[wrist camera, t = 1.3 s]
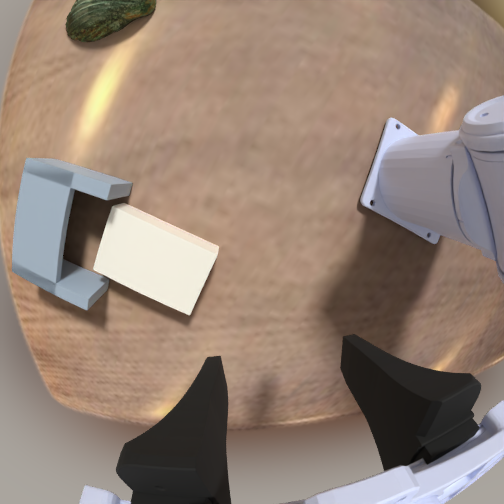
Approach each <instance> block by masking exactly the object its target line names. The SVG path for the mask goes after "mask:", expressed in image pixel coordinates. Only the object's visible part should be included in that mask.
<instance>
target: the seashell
mask: <svg viewBox="0 0 504 504" xmlns="http://www.w3.org/2000/svg"><path fill="white" fill-rule="evenodd" d="M155 7H156V0H76V2H75V4H74V5H73V7H72V9H71V12H70V13H69V15H68V16H67V22H66V27H67V32H68V36H71V39H73V40H79V41H81V42H92V41H96V40H99V39H101V38H103V37H105V36H107V35H109V34H111V33H113V32H116V31H119V30H121V29H123V28H124V27H125V26H126V25H127V24H128V23H130V22H131V21H133V20H135V19H136V18H139V17H142V16H147V15H149V14H150V13H152V12H153V11H154V10H155Z"/></svg>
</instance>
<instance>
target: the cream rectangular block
mask: <svg viewBox="0 0 504 504" xmlns="http://www.w3.org/2000/svg"><path fill="white" fill-rule="evenodd" d="M218 250H219V246H217V245H215V244H212V243H210V242H208V241H206V240H204V239H201V238H199V237H197V236H195V235H193V234H191V233H188V232H186V231H184V230H182V229H180V228H178V227H175V226H173V225H171V224H169V223H167V222H165V221H162V220H160V219H158V218H156V217H154V216H152V215H149V214H147V213H145V212H143V211H141V210H139V209H136V208H134V207H132V206H130V205H128V204H126V203H122V204H118V205H114V206H112V209H111V212H110V215H109V218H108V221H107V224H106V227H105V230H104V233H103V236H102V240H101V243H100V246H99V250H98V253H97V257H96V261H95V264H94V268H93V270H95V271H97V272H99V273H101V274H103V275H105V276H107V277H109V278H111V279H113V280H115V281H117V282H119V283H120V284H123V285H125V286H127V287H129V288H131V289H133V290H135V291H137V292H139V293H141V294H143V295H145V296H147V297H149V298H152V299H154V300H156V301H158V302H160V303H163V304H165V305H167V306H169V307H171V308H174V309H176V310H178V311H181V312H183V313H185V314H188V315H190V314H191V312H192V309H193V307H194V305H195V303H196V301H197V298H198V296H199V294H200V292H201V290H202V287H203V285H204V283H205V281H206V279H207V277H208V275H209V272H210V270H211V268H212V266H213V264H214V262H215V260H216V257H217V255H218Z"/></svg>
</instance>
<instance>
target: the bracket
mask: <svg viewBox="0 0 504 504" xmlns="http://www.w3.org/2000/svg"><path fill="white" fill-rule="evenodd" d="M132 184H133V183H131V182H128V181H125V180H122V179H119V178H116V177H113V176H109V175H106V174H103V173H100V172H97V171H94V170H90V169H87V168H84V167H81V166H77V165H74V164H71V163H67V162H64V161H61V160H57V159H47V158H26V162H25V166H24V171H23V175H22V180H21V185H20V191H19V197H18V203H17V210H16V218H15V227H14V238H13V255H12V272H14V273H16V274H17V275H19V276H21V277H22V278H24V279H26V280H28V281H30V282H31V283H33V284H35V285H37V286H39V287H40V288H42V289H44V290H46V291H48V292H50V293H52V294H54V295H56V296H58V297H60V298H62V299H64V300H66V301H68V302H70V303H72V304H74V305H76V306H78V307H81V308H83V309H85V310H88V309H89V308H90V307H91V306H92V305H93V304H94V303H95V302H96V301H97V300H98V299H99V298H100V297H101V296H102V295H103V294H104V293H105V292H106V291H107V290H108V285H109V279H108V278H106V277H103V276H101V275H98V274H96V273H94V272H91V271H89V270H87V269H84V268H82V267H80V266H77V265H75V264H73V263H71V262H69V261H66V260H64V259H63V252H64V245H65V238H66V232H67V226H68V220H69V215H70V210H71V205H72V201H73V196H74V192H75V189H76V190H79V191H81V192H84V193H87V194H90V195H93V196H96V197H99V198H102V199H105V200H111V199H116V198H120V197H125V196H129V194H130V191H131V187H132Z"/></svg>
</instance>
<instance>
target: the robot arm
mask: <svg viewBox="0 0 504 504" xmlns="http://www.w3.org/2000/svg"><path fill="white" fill-rule="evenodd" d="M396 125H397V126H398V129H397V128H396ZM371 200H373V205H372V206H371V205H370V201H371ZM360 202H361V204H362V205H363V206H365V207H367V208H369V209H371V210H373V211H375V212H376V213H378V214H380V215H382V216H384V217H386V218H388V219H390V220H392V221H393V222H395V223H397V224H399V225H401V226H403V227H404V228H406V229H408V230H410V231H412V232H413V233H415V234H417V235H419V236H420V237H422V238H424V239H425V240H427V241H429V242H430V243H433V244H436V243H437V242H438V240H439V237H440V235H442V236H444V237H447V238H450V239H453V240H456V241H458V242H461V243H464V244H466V245H469V246H472V247H474V248H477V249H480V250H481V251H482V254H483V256H485V257H487V258H490V259H492V260H494V261H496V265H497V271H498V274H499V277H500V279H501V281H502V282H503V284H504V95H503V96H500V97H497V98H494V99H491V100H488V101H486V102H484V103H482V104H480V105H478V106H476V107H475V108H473V109H472V110H470V111H469V112H468V113H467V114H466V115H465V117H464V119H463V122H462V124H461V126H460V128H459V130H457V131H449V132H440V133H433V134H426V135H417V134H416V133H414V132H413V131H412V130H410V129H409V128H407V127H406V126H405V125H403V124H402V123H400V122H399V121H397V120H396V119H394V118H389V119H388V120H387V122H386V125H385V128H384V131H383V135H382V138H381V141H380V144H379V147H378V150H377V153H376V156H375V159H374V162H373V165H372V168H371V171H370V174H369V176H368V179H367V182H366V185H365V187H364V190H363V193H362V195H361V199H360ZM428 233H429V234H428ZM427 234H428V236H427ZM340 368H341V371H342V373H343V376H344V379H345V381H346V384H347V385H348V387H349V389H350V391H351V393H352V394H353V396H354V398H355V400H356V401H357V403H358V405H359V406H360V408H361V410H362V412H363V413H364V415H365V417H366V419H367V422H368V424H369V426H370V429H371V432H372V434H373V437H374V439H375V442H376V445H377V448H378V451H379V454H380V458H381V461H382V464H383V468H384V472H381V473H379V474H376V475H373V476H371V477H368V478H365V479H362V480H359V481H356V482H353V483H350V484H346V485H343V486H340V487H336V488H332V489H329V490H326V491H323V492H320V493H317V494H315V495H313V496H311V497H309V498H307V499H305V500H299V501H294V502H288V503H281V504H444V503H445V502H447V501H449V500H450V499H451V498H453V497H454V496H456V495H457V494H459V493H460V492H461V491H463V490H464V489H465V488H467V487H468V486H469V485H471V484H472V483H473V482H474V481H476V480H477V479H478V478H480V477H481V476H482V475H483V474H485V473H486V472H487V471H488V470H489V469H490V468H492V467H493V466H494V465H495V464H496V463H497V462H498V461H500V460H501V459H502V458H503V457H504V401H503V400H502V401H500V402H499V403H498V404H497V405H495V406H494V407H493V408H491V409H490V410H489V411H488V412H487V413H486V415H485V416H484V418H483V419H482V422H481V423H480V424H477V423H476V422H475V421H474V420H473V417H474V413H473V412H472V411H471V409H472V407H473V406H474V404H475V402H476V400H477V398H478V396H479V393H480V390H481V384H480V382H479V381H478V380H476V379H475V378H474V377H473V376H472V375H471V374H470V373H450V372H442V371H436V370H432V369H428V368H424V367H420V366H417V365H414V364H411V363H408V362H406V361H403V360H401V359H399V358H397V357H394V356H392V355H390V354H388V353H386V352H385V351H383V350H381V349H379V348H377V347H376V346H374V345H372V344H370V343H369V342H367V341H365V340H364V339H362V338H360V337H358V336H357V335H355V334H353V335H349V336H344V337H343V345H342V357H341V367H340ZM227 417H228V391H227V383H226V379H225V374H224V370H223V365H222V360H221V356H214V357H207V359H206V360H205V362H204V364H203V366H202V368H201V370H200V372H199V374H198V375H197V377H196V379H195V380H194V382H193V383H192V385H191V387H190V388H189V389H188V391H187V392H186V394H185V395H184V396H183V398H182V399H181V400H180V401H179V402H178V404H177V405H176V406H175V407H174V408H173V409H172V410H171V411H170V412H169V413H168V414H167V415H166V416H165V417H164V418H163V419H162V420H161V421H159V422H158V423H157V424H156V425H154V426H153V427H152V428H150V429H149V430H148V431H146V432H145V433H143V434H141V435H140V436H138V437H137V438H135V439H133V440H131V441H129V442H127V443H125V445H124V447H123V449H122V451H121V454H120V457H119V460H118V464H117V467H116V472H117V474H118V476H119V477H120V478H121V479H122V480H123V481H124V482H125V483H126V484H127V485H128V486H129V487H130V488H131V489H132V490H133V494H132V499H131V501H126V500H121V499H120V498H119V497H118V496H117V495H116V494H114V493H112V492H110V491H108V490H104V489H100V488H96V487H93V486H89V485H85V487H84V489H83V493H82V496H81V499H80V502H79V504H231V498H230V490H229V481H228V470H227V456H226V433H227Z"/></svg>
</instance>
